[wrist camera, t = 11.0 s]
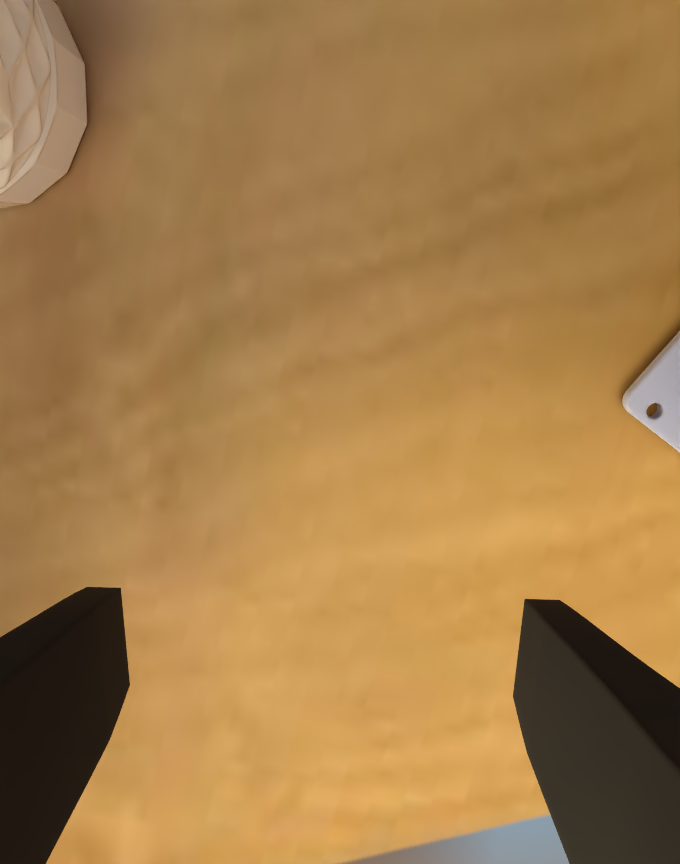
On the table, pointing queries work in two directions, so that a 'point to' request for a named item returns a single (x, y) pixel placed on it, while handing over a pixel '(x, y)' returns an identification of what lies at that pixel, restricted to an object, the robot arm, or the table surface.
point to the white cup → (37, 99)
